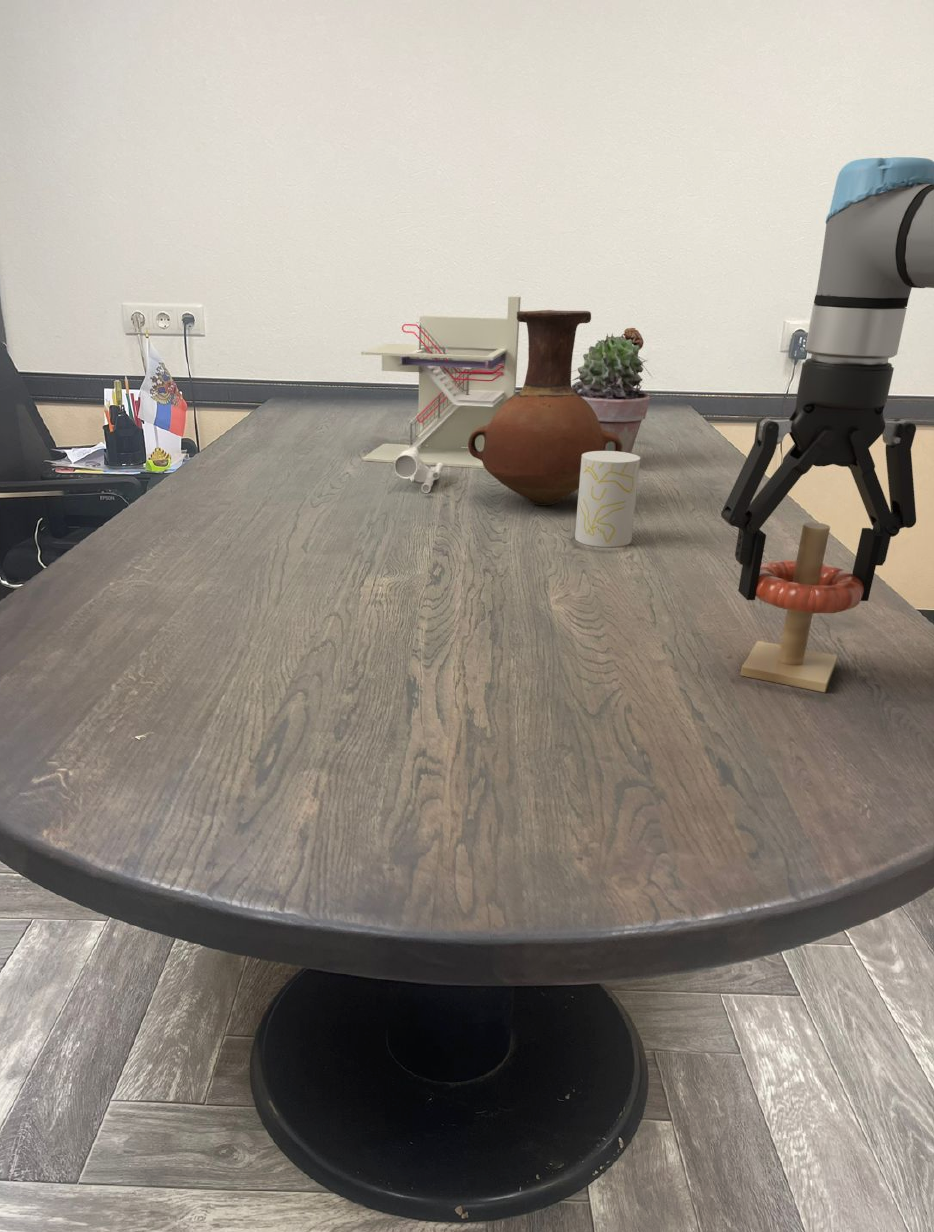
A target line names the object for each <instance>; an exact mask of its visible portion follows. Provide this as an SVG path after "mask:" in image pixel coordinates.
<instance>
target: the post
mask: <svg viewBox="0 0 934 1232" xmlns="http://www.w3.org/2000/svg"><path fill="white" fill-rule="evenodd" d="M830 529H831V526H830V525H829V524H826V523H822V522H815V521H813V522H812V521H809V522H804V523H803V524H802V529H801V535H800V539H799V544H798V549H797V550H798V551H797V555H796V560H795V561H796V566H795V571H794V576H793V583H800V584H806V585H815V586H819V581H820V576H821V571H822V566H823V564H824V560H825V556H826V555H825V554H826V550H827V545H828V540H829V536H830ZM813 615H814V613H804V612H798V611H792V610H786V614H785V619H784V624H783V629H782V636H781V641H780V644H779V643H778V644H777V643H773V642H766V641H761V640H757V641H756V643H755V645H754V646H753V647H752V649H751V651H750V652H749V654H748V656H747V657H746V659H745V660H744V662H743V664H742V666H741V669H740V676H741V677H746V678H751V679H757V680H761V681H766V682H770V683H775V684H776V683H777V684H781V685H786V686H791V687H796V688H800V689H806V690H810V691H815V692H820V693H826V691H827V688H828V687H829V684H830V681H831V678H832V675H833V673H834V670H835V667H836V665H837V661H838V657H839V656H838V654H837V655H836V654H831V653H826V652H821V651H814V650H810V649H807V647H808V646H807V644H808V641H809V635H810V630H811V625H812V620H813Z"/></svg>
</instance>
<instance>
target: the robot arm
mask: <svg viewBox="0 0 934 1232" xmlns="http://www.w3.org/2000/svg"><path fill="white" fill-rule="evenodd" d="M828 212H829V213H827V215H826V219H825V225H826V226H825V231H824V238H823V239H824V240H823V246H822V253H821V254H822V255H821V260H820V268H819V273H818V274H819V275H818V280H817V287H816V293H815V294H814V295H815V296H814V300H813V304H812V309H811V315H810V320H809V326H808V331H807V338H806V343H805V348H804V349H805V351H806V352H807V353H808V354H811V355H810V358H806V359H805V360H804V362H802V364H801V369H800V375H799V380H798V387H797V392H796V399H795V408H794V410H793V412H792V414H791V415H790V416H789V418H788V419H771V418H768V417H766V416H764V417H760V418H759V419H758V420H757V421H756V424H755V425H756V426H755V433H754V434H755V435H754V442H753V444H752V446H751V449H750V451H749V453H748V455H747V457H746V459H745V462H744V464H743V466H742V467H741V470H740V472H739V474H738V476H737V478H736V480H735V483H734V485H733V487H732V489H731V490H730V493H729V495H728V497H727V499H726V501H725V504H724V506H723V508H722V511H721V513H720V516H721V518H722V519H723V520H724V521H725V522H726V523H727V524H728V525H729V526H731V527H736V528H738V533H737V540H736V546H735V551H734V552H735V553H734V557H735V561H736V562H738V563H739V565H742V566H741V571H740V572H741V573H740V577H739V583H738V589H737V591H738V593H739V594H740V595H742V597H743V598H744V599H746V601H756V598H757V597H756V590H757V585H758V580H759V574H760V568H761V564H763V563H762V562H763V557H764V551H765V545H766V541H767V540H766V539H767V534H766V533H765V532H764V531H762V530H761V528H762V526H763V525H764V524H765V523H766V521H767V520H768V519H769V518H770V517H771V515H772V514H773V513H774V511H776V509H777V507H778V506H779V505H780V504H781V503H782V501H783V500H784V499H785V497H787V495H788V493H789V492H790V491H791V490H792V489H793V487H794V486H795V485H796V483H797V482H798V481H799V480H800V478H801V477H802V476H803V475H805V474H807V473H808V472H809V471H810V470H811V468H813V466H814V467H826V466H831V465H834V466H838V467H840V468H841V467H843V468H845V467H846V468H847V467H848V469H849V471H850V473H851V475H852V478H853V480H854V483H855V485H856V488H857V491H858V493H859V497H860V498H861V501H862V504H863V506H864V508H865V511H866V513H867V515H868V518H869V521H870V524H871V525H872V528H871V527H862V528H861V532H860V536H859V541H858V546H857V550H856V555H855V559H854V565H853V568H852V573H851V574H852V575H854V576H855V577H856V578H858V579H859V580H860V581H861V582H862V584H863V586H864V593H863V595H862V598H861V601H860V602H869V599H870V593H871V589H872V586H873V580H874V576H875V573H876V568H877V566H882V567H883V565H884V564H885V562H886V561H887V560H886V559H887V556H888V551H889V546H890V542H891V538H894V537H896V536H897V535H899V533H900V530H901V529H904V528H907V529H911V528H913V527H914V526H915V525H916V523H917V512H916V511H917V510H916V498H915V497H916V496H915V486H914V484H915V483H914V472H913V459H912V446H913V443H914V440H915V435H916V431H917V425H916V424H915V423H913V422H909V421H907V420H904V419H901V418H895V419H894V420H885V418H884V409H885V407H886V404H887V402H888V398H889V393H890V388H891V383H892V379H893V374H894V369H895V368H894V367H893V364H892V363H890V362H889V359H891V358H895V356H898V352H899V347H900V343H901V342H900V341H901V338H902V334H903V333H902V332H903V328H904V322H905V318H906V312H907V309H908V308H907V307H908V304H909V299H910V295H911V292H912V288H913V289H926V288H927V289H934V161H933V159H931V158H925V157H911V156H910V157H905V156H903V157H901V156H900V157H899V156H895V157H894V156H893V157H884V158H883V157H869V158H868V157H867V158H859V159H854V160H851V161H849V162H848V163H846V164H845V165H844V166H843V167H842V168H841V169H840V170H839V172H838V175H837V178H836V182H835V186H834V190H833V195H832V199H831V203H830V208H829V211H828ZM788 434H789V436H790V439H791V440H792V441H793V444H792V446H791V448H790V449H789V450H788V451H787V453H786V454H785V455H784V457H783V459H782V462H781V464H780V465H779V466H778V467H777V469H776V470H775V471H774V473H773V474H772V475H771V477H770V478H769V479H768V481H767V482H766V483H765V484H764V486H763V487H762V488H761V489H760V491H759V492H758V493H757V495H756V492H757V491H758V489H759V487H760V485H761V482H762V480H763V479H764V476H765V474H766V472H767V470H768V467H769V466H770V464H771V462H772V459H773V457H774V455H775V452H776V450H777V446H778V445H780V444H781V443H782V442H783V440H784V438H785V436H786V435H788ZM881 436H882V442H883V443H884V444H885V462H886V472H887V483H888V495H889V504H890V506H889V504H888V501H887V498H886V496H885V493H884V491H883V487H882V485H881V483H880V480H879V477H878V475H877V473H876V470H875V468H876V463H875V461H874V459H873V456H872V454H871V451H870V447H872V446H873V445H874V444H875V442H876V441H877V440H878V439H879V438H880V437H881ZM755 495H756V496H755Z"/></svg>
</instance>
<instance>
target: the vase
mask: <svg viewBox="0 0 934 1232" xmlns="http://www.w3.org/2000/svg"><path fill="white" fill-rule="evenodd" d="M517 320H518V321H519V323H526V328H527V339H528V340H527V341H528V351H527V352H528V353H527V354H528V355H527V356H528V361H527V369H526V374H525V380H524V383H523V386H522V388H521V390H519V391H518V392H515V394H514V395H513V396H512V397H510V398H509V399H508V400H506V401H505V402H504V403H503V404H502V405H501V406H500V408H499V409H498V410H497V412H496V413H495V415H494V416H493V418H492V420H491V422H490V423H489V424H488V425H487V426H483V427H480V428H477V429H476V430H475V431H474V432H473V433H472V434H471V436H470V438H469V442H468V448H469V451H470V454H471V455H472V456H473V457H475V458H477V459H480V460H481V461H482V462H483V466H484V467H485V468H484V470H486V471H487V473H489V474H490V475H491V476H492V477H493V478H495V479H496V480H497V481H498V482H499V483H500V484H502V485H504V486H505V487H506V488H508V489H509V490H510V491H513V492H514V493H516V494H518V495H519V496H521V497H523V498H525V499H526V500H527V501H529V502H531V503H533V504H535V505H539V506H551V505H554V504H557V503H558V502H560V501H561V500H562V499H564V498H567V496H569V495H570V494H572V493H574V492H576V491H579V482H580V470H581V458H582V454H583V453H586V452H592V451H606V448H605V446H606V444H607V443H608V442H611V441H612V442H614V443H615V451H618V452H622V443H621V440H620V438H619V437H618V436H617V435H616V434H614V433H612V432H609V431H606V430H603V429H602V428H601V426H600V423H599V420H598V418H597V416H596V414H595V412H594V410H593V409H592V407H591V406H590V405H589V404H588V403H587V401H586V400H584V399H583V398H582V397H581V396H579V395H578V394H577V393H575V392H574V391H573V389H572V368H573V367H572V365H573V356H574V355H573V354H574V348H575V342H576V334H577V328H578V326H579V325H581V324H589V323H590V322H591V321H592V313H591V311H589V310H556V309H555V310H554V309H543V310H540V309H539V310H520V311H517ZM479 435H483V436H484V440H485V442H484V449H483V451H480V452H479V451H478V450H477V449H476V446H475V439H476V438H477V436H479Z"/></svg>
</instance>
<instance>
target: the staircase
mask: <svg viewBox="0 0 934 1232" xmlns="http://www.w3.org/2000/svg"><path fill="white" fill-rule="evenodd" d="M507 297H508V299H507V317H506V318H503V317H500V318H499V317H474V316H473V317H471V316H437V315H420V316H419V321H416V324H415V323H404V324H403V325H402V326H401V331H402V332H403V333H406V334H414V335H415V337H416V338H417V339H418V344H402V343H401V344H400V343H384V344H381V345H378V346H375V347H372V348H369V349H365V350H362V351H361V352H360V354H361V356H362V355H364V356H368V355H369V356H381V372H402V373H403V372H404V373H418V407H417V408H418V411H417V412H418V413H417V414H416V415H415V416H414V417H413V418H412V419H411V420H410V421H409V422H408V425H410V426H409V427H410V428H409V430H410V432H409V444H399V443H383V444H381V445H379V446H378V447H377V448H375V449H373V450H372V451H371V452H369V453H367V454H366V455H364V456H363V457H362V458H361V461H362V462H363V461H364V462H376V463H377V462H378V463H391V464H394V463H395V460H396V459H397V458H398V457H399V455H400V454H401V453H402V452H403V451H405V450H408V449H410V448H413V447H416V448H418V452H419V458H420V459H421V460H422V462H423V463H424V464H425V465H426V466H436V465H437V463H442V464H443V467H454V468H455V467H456V468H470V469H471V468H472V469H485V467H484V466H483V462H482V461H481V460H480V459H477V458H475V457H473V456H472V455H471V454H470V451H469V448H461V447H468V442H469V438H470V436H471V434H472V433H473V432H474V431H475V430H476V429H477V428H480V427H483V426H487V425H488V424H489V423H490V422H491V420H492V418H493V416H494V415H495V413H496V412H497V410H498V409H499V408H500V406H501V405H502V404H503V403H504V402H505V401H506V400H508V399H509V398H510V397H512V396H513V395H514V394H516V392H517V391H516V390H517V389H516V388H517V371H518V353H519V335H520V322H519V321H518V320H517V311H521V296H507ZM418 324H419V325H418ZM405 326H410V327H417V329H418V334H419V335H418V334H417V333H416V332H415V331H412V330H408V331H407V330H404V327H405ZM413 421H415V422H414V423H412V422H413ZM417 422H418V423H417ZM413 426H414V427H415V428H414V431H415V432H414V438H413ZM416 438H417V439H416ZM415 439H416V441H414V440H415ZM413 441H414V442H413ZM484 442H485V440H484V436H483V435H479V436H477V438H476V439H475V446H476V449H477V450H478V451H479V452H480V451H483V449H484ZM420 445H421V446H420ZM426 445H428V446H426ZM478 448H480V449H478Z"/></svg>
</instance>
